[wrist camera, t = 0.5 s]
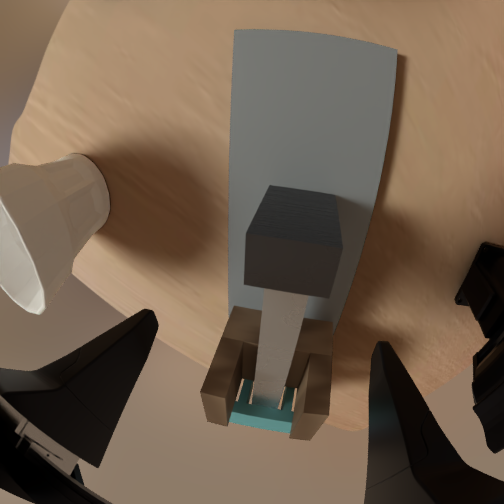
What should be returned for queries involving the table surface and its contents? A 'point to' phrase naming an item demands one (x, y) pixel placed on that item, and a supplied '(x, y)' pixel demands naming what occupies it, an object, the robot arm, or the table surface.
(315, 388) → the bearing block
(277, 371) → the shaft
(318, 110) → the base board
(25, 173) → the cup
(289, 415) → the spacer
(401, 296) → the table surface
